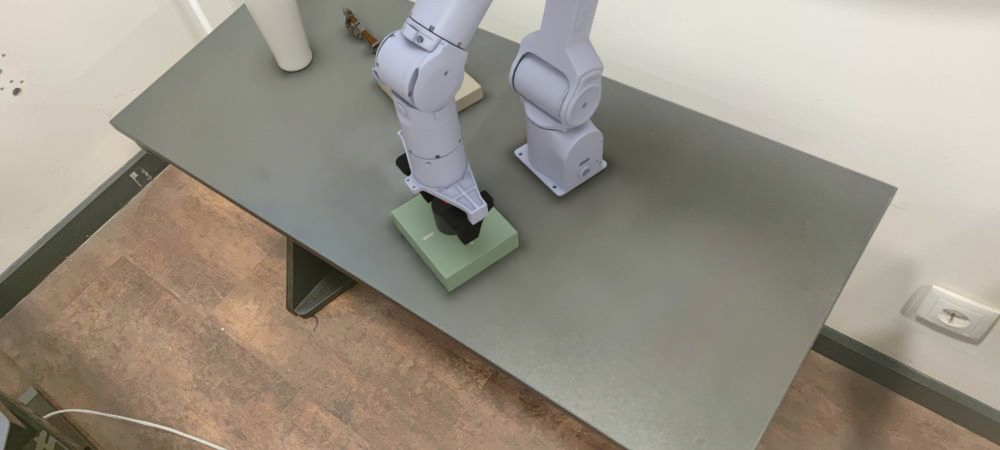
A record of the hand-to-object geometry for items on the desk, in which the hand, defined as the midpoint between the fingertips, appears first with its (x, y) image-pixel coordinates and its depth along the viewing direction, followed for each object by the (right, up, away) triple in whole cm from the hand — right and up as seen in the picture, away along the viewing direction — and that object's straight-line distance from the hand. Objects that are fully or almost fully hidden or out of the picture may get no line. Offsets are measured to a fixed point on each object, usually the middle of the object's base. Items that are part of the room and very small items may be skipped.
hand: (451, 217), depth 81 cm
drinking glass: (-25, +24, +24) cm, 42 cm away
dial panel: (0, -2, +3) cm, 4 cm away
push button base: (-4, +18, +18) cm, 26 cm away
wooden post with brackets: (-15, +27, +26) cm, 40 cm away
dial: (0, 0, +1) cm, 1 cm away
